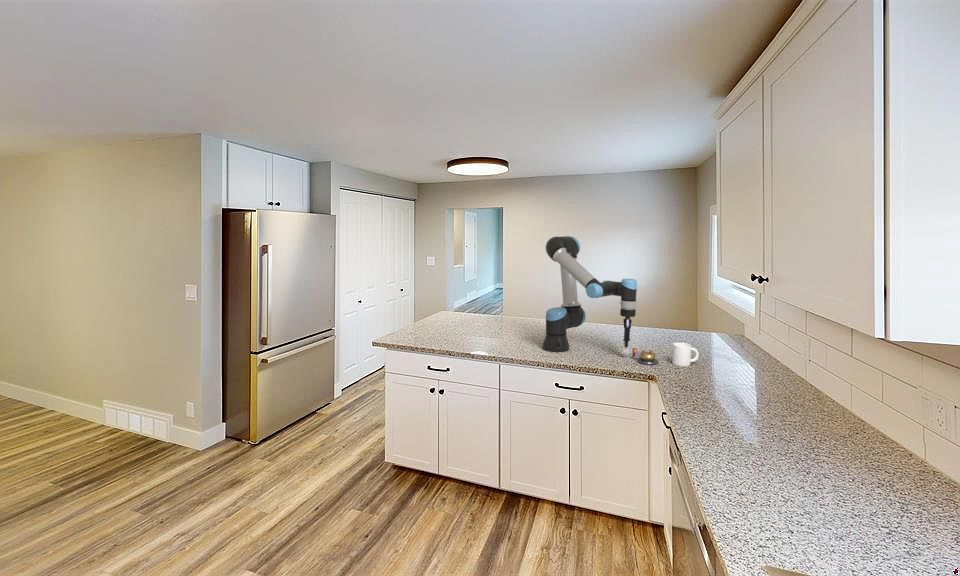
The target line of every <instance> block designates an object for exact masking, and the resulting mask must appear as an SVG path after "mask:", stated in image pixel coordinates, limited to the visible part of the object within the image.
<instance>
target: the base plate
mask: <svg viewBox="0 0 960 576" xmlns="http://www.w3.org/2000/svg"><path fill="white" fill-rule="evenodd" d="M636 361H637V363H638V364H641V365H646V366H656V365H659V360H658V359H657V358H655V361H643V360H641V359H640V358H638V357H637V359H636Z"/></svg>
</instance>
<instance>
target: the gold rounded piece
mask: <svg viewBox="0 0 960 576" xmlns="http://www.w3.org/2000/svg"><path fill="white" fill-rule="evenodd" d="M631 356H632V357H634V358H637V359H638V358H640V359H641V360H643V361H655V359H656V353H655V352H653V350H649V351H646V350H643V349H642V350H640V351H638V349H637V348H636V347H635V348H634V347H633V348H632V355H631Z"/></svg>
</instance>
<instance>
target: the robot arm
mask: <svg viewBox="0 0 960 576" xmlns="http://www.w3.org/2000/svg"><path fill="white" fill-rule="evenodd" d="M580 251H581V244H580V242H579V240H578V239H577V237H574V236H569V235H568V236H566V235H565V236H553V237H551V238H549V239H548V241H546V244H545V252H546V254H547V255H548V257H549V258H550V260H552V261H553V262H554V263H558V264H559V267H560V277H561V278H560V279H561V281H560V282H561V292H562V304H561V305H560V306H558V307H551V308H548V309H547V311H546V313H545V314H546V315H545V337H544V339H543V340H544V341H543V343H542V350H545V351H546V352H553V353H554V352H555V353H562V352H567V351H569V350H570V343H569V341H568V337H567V329H572V328H578V327H580V326H582V325H583V324H584V323H585V321H586V311H585V310H584V309H583V307H582V304H581V303H580V302H579V299H578V286H577V282H578V283H579V284H580V286H582V287H583V288H584V289H585V293H586V295H587V297H589V298H590V299H599V298H603V297H604V298H605V297H609V296H615V297H620V301H619V304H620V311H619V312H620V314H619V315H620V316H621V317H625V318H623V328H624V330H623V331H624V333H623V338H622V341H623V350H622V352H623V354H624V353H625V354H630V341H631V340H632V339H631V337H630V335H631V328H632V319H631V318H634V317H636V311H637V310H636V308H637V290H638V285H637V284H638V283H637V279H634V278H622V279H621V281H612V280H603V281H602V282H600V280H598V279H597V278H596V277H595V276H593V274H591V273H590V271H588V270H587V269H586V268H585V267H584V266H582V264H581V263H579V262H578V261H577V260H578V254H579V253H580Z"/></svg>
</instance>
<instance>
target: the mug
mask: <svg viewBox="0 0 960 576" xmlns="http://www.w3.org/2000/svg"><path fill="white" fill-rule="evenodd" d="M692 352H694V353H695V357H694V358H692ZM671 357H672V358H671V360H672V361H671V363H672V365H673V366H676V367H681V368H688V367H690V366H691V363H694V362H696V361H698V359H699V357H700V353H699V351H698V350H697V348H695V347H692V344H690V343H686V342H673V343H672V356H671Z"/></svg>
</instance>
